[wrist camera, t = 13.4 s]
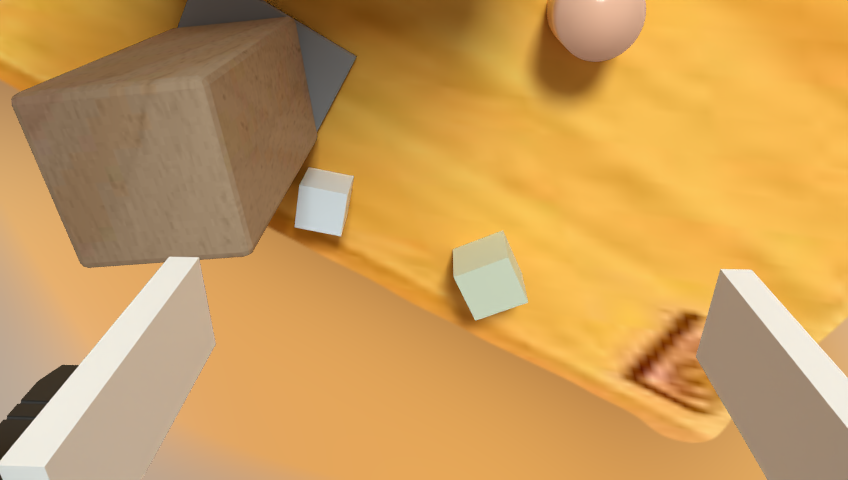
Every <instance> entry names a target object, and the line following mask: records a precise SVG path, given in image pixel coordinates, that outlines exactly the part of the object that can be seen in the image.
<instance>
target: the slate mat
mask: <svg viewBox="0 0 848 480" xmlns="http://www.w3.org/2000/svg"><path fill="white" fill-rule="evenodd" d="M279 17H290V16H288V15H287V14H285V13H283V12H282V11H280V10H278V9H277V8H275V7H273V6H272V5H270V4H268V3H267V2H265V1H263V0H187V3H186V6H185V8H184V11H183V14H182V16H181V19H180V22H179V24H178V27H177V28H181V27H191V26H201V25H210V24H220V23H230V22H240V21H249V20H259V19H269V18H279ZM291 18H292V17H291ZM294 21H295V22H296V27H297V32H298V37H299V42H300V48H301V53H302V58H303V63H304V69H305V74H306V79H307V84H308V89H309V95H310V100H311V105H312V110H313V116H314V121H315V126H316V131H318V129H319V127H320V125H321V123H322V121H323V120H324V118H325V116H326V114H327V112H328V110H329V108H330V106H331V104H332V102H333V101H334V99H335V97H336V95H337V93H338V91H339V89H340V87H341V85H342V83H343V82H344V80H345V78H346V76H347V74H348V72H349V70H350V68H351V66H352V65H353V63H354V61H355V59H356V57H357V56H355V55H354V54H352V53H350V52H348V51H347V50H345V49H343V48H342V47H340V46H338V45H337V44H335V43H333V42H332V41H330V40H328V39H327V38H325V37H323V36H322V35H320V34H318V33H317V32H315V31H313V30H312V29H310V28H308V27H307V26H305V25H303V24H302V23H300V22H298V21H297V20H295V19H294Z"/></svg>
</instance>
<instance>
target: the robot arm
mask: <svg viewBox="0 0 848 480" xmlns="http://www.w3.org/2000/svg"><path fill="white" fill-rule="evenodd" d="M215 345H216V343H215V338H214V333H213V327H212V323H211V317H210V312H209V306H208V301H207V296H206V291H205V286H204V281H203V276H202V270H201V266H200V260H199V257H169V258H168V259H167V260H166V261H165V262H164V264H163V265H162V266H161V267H160V269H159V270H158V271H157V272H156V273H155V275H154V276H153V277H152V278H151V279H150V280H149V282H148V283H147V284H146V285H145V287H144V288H143V289H142V290H141V291H140V293H139V294H138V295H137V296H136V297H135V299H134V300H133V301H132V302H131V303H130V305H129V306H128V307H127V308H126V309H125V311H124V312H123V313H122V314H121V315H120V317H119V318H118V319H117V320H116V321H115V323H114V324H113V325H112V326H111V328H110V329H109V330H108V331H107V332H106V334H105V335H104V336H103V337H102V338H101V340H100V341H99V342H98V343H97V344H96V346H95V347H94V348H93V349H92V351H91V352H90V353H89V354H88V355H87V356H86V358H85V359H84V360H83V361H82V362H81V364H80V365H61V366H60V367H59V368H57V369H56V370H54V371H52V372H51V373H49V374H48V375H46V376H45V377H43V378H42V379H40V380H39V381H38V382H37V383H36V384H35V385H34V386H33V387H32V388H31V390H30V391H29V392H28V393H27V394H26V395H25V396H24V398H22V400H21V403H20V404H17V405H16V406H15V407H14V409H13V410H12V411H11V412H10V413H9V415H8V416H7V419H6V420H3V421H2V422H1V423H0V480H142V479H143V477H144V475H145V473H146V471H147V469H148V467H149V466H150V464H151V462H152V460H153V458H154V456H155V455H156V453H157V451H158V449H159V447H160V446H161V444H162V442H163V440H164V438H165V436H166V435H167V433H168V431H169V429H170V427H171V425H172V424H173V422H174V420H175V418H176V416H177V414H178V413H179V411H180V409H181V407H182V405H183V403H184V402H185V400H186V398H187V396H188V394H189V392H190V391H191V389H192V387H193V385H194V383H195V381H196V380H197V378H198V376H199V374H200V372H201V370H202V369H203V367H204V365H205V363H206V361H207V359H208V358H209V356H210V354H211V351H212V350H213V348H214V347H215ZM696 358H697V359H698V361H699V363H700V365H701V366H702V368H703V370H704V371H705V373H706V375H707V377H708V378H709V380H710V382H711V383H712V385H713V387H714V389H715V390H716V392H717V394H718V396H719V397H720V399H721V401H722V402H723V404H724V406H725V408H726V409H727V411H728V413H729V414H730V416H731V418H732V420H733V421H734V423H735V425H736V426H737V428H738V430H739V431H740V433H741V435H742V437H743V438H744V440H745V442H746V444H747V445H748V447H749V449H750V451H751V452H752V454H753V455H754V457H755V459H756V461H757V462H758V464H759V466H760V468H761V469H762V471H763V473H764V474H765V476H766V478H767V480H848V378H847V377H846V376H845V374H844V373H843V372H842V371H841V370H840V369H839V368H838V367H837V365H836V364H835V363H834V362H833V361H832V360H831V359H830V358H829V356H828V355H827V354H826V353H825V352H824V351H823V350H822V349H821V347H820V346H819V345H818V344H817V343H816V342H815V341H814V340H813V338H812V337H811V336H810V335H809V334H808V333H807V332H806V331H805V329H804V328H803V327H802V326H801V325H800V324H799V323H798V322H797V320H796V319H795V318H794V317H793V316H792V315H791V314H790V313H789V311H788V310H787V309H786V308H785V307H784V306H783V305H782V304H781V302H780V301H779V300H778V299H777V298H776V297H775V296H774V295H773V293H772V292H771V291H770V290H769V289H768V288H767V287H766V286H765V284H764V283H763V282H762V281H761V280H760V279H759V278H758V277H757V275H756V274H755V273H754V272H753V271H752V270H736V269H720V273H719V276H718V280H717V283H716V287H715V290H714V294H713V298H712V301H711V305H710V308H709V312H708V315H707V319H706V323H705V326H704V330H703V333H702V337H701V340H700V344H699V348H698V351H697V355H696Z"/></svg>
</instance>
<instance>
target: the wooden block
mask: <svg viewBox="0 0 848 480" xmlns="http://www.w3.org/2000/svg"><path fill="white" fill-rule="evenodd" d="M11 100H12V107H13V109H14V111H15V113H16V116H17V118H18V120H19V123H20V125H21V127H22V130H23V132H24V134H25V136H26V139H27V141H28V143H29V146H30V148H31V150H32V153H33V155H34V157H35V160H36V162H37V164H38V167H39V169H40V171H41V174H42V176H43V178H44V180H45V183H46V185H47V187H48V189H49V192H50V194H51V197H52V199H53V201H54V203H55V206H56V208H57V210H58V213H59V215H60V217H61V220H62V222H63V224H64V227H65V229H66V231H67V233H68V236H69V238H70V240H71V243H72V245H73V247H74V250H75V252H76V254H77V256H78V259H79V261H80V263H81V264H82V265H83V266H84V267H88V268H91V267H105V266H119V265H133V264H147V263H160V262H165V261H166V260H167V259H168V258H169V257H199V260H202V259H216V258H229V257H243V256H246V255H249V254H251V253H252V252H253V250H254V248H255V246H256V245H257V243H258V241H259V240H260V238H261V236H262V234H263V232H264V231H265V229H266V227H267V226H268V224H269V222H270V220H271V219H272V217H273V215H274V213H275V212H276V210H277V208H278V206H279V205H280V203H281V201H282V199H283V198H284V196H285V194H286V192H287V191H288V189H289V187H290V185H291V184H292V182H293V180H294V179H295V177H296V175H297V173H298V172H299V170H300V168H301V166H302V165H303V163H304V161H305V159H306V158H307V156H308V154H309V152H310V151H311V149H312V147H313V145H314V144H315V142H316V140H317V131H316V126H315V121H314V116H313V110H312V105H311V100H310V95H309V89H308V84H307V79H306V74H305V69H304V63H303V58H302V53H301V48H300V42H299V37H298V32H297V27H296V22H295V21H294V19H293V18H291V17H279V18H269V19H259V20H249V21H240V22H230V23H220V24H210V25H201V26H191V27H181V28H173V29H171V30H168V31H166V32H163V33H161V34H159V35H156V36H154V37H151V38H149V39H147V40H144V41H142V42H139V43H137V44H134V45H132V46H130V47H127V48H125V49H122V50H120V51H118V52H115V53H113V54H110V55H108V56H106V57H103V58H101V59H98V60H96V61H93V62H91V63H89V64H86V65H84V66H81V67H79V68H77V69H74V70H72V71H69V72H67V73H64V74H62V75H60V76H57V77H55V78H52V79H50V80H48V81H45V82H43V83H40V84H38V85H36V86H33V87H31V88H28V89H26V90H23V91H21V92H19V93H17V94H16V95H14V96H13V97H12V99H11Z"/></svg>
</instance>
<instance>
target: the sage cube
mask: <svg viewBox="0 0 848 480" xmlns="http://www.w3.org/2000/svg"><path fill="white" fill-rule="evenodd" d="M453 276H454V279H455V281H456V283H457V285H458V287H459V289H460V291H461V293H462V295H463V297H464V299H465V301H466V303H467V305H468V307H469V309H470V311H471V313H472V315H473V317H474V319H475V321H476V320H479V319H482V318H485V317H488V316H490V315H493V314H496V313H499V312H502V311H505V310H508V309H511V308H514V307H516V306H519V305H522V304H525V303H528V299H527V295H526V290H525V285H524V281H523V276H522V272H521V270H520V268H519V266H518V263H517V261H516V259H515V256H514V254H513V252H512V250H511V247H510V245H509V243H508V241H507V238H506V236H505V234H504V232H503V231H500V232H498V233H495V234H492V235H490V236H487V237H484V238H482V239H479V240H476V241H474V242H471V243H468V244H466V245H463V246H460V247H458V248H455V249H453Z"/></svg>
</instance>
